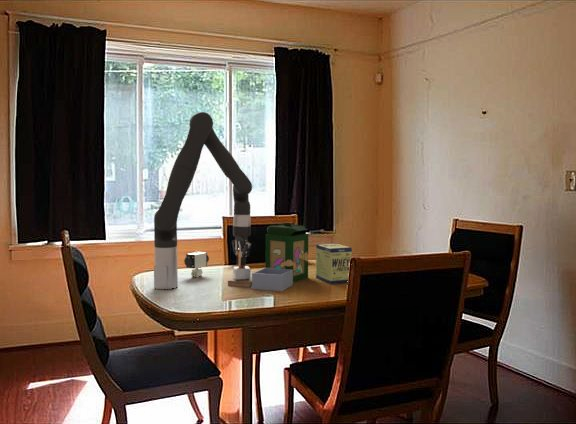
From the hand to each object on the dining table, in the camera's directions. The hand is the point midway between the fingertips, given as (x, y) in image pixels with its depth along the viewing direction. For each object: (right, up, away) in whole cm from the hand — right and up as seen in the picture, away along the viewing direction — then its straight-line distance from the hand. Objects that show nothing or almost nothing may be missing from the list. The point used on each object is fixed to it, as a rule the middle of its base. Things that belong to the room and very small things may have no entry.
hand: (241, 264), depth 243 cm
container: (+19, -8, +13) cm, 24 cm away
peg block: (0, -6, +1) cm, 6 cm away
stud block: (+1, -8, 0) cm, 8 cm away
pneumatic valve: (-22, -7, +16) cm, 28 cm away
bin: (+14, -9, -5) cm, 17 cm away
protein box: (+40, -8, +9) cm, 42 cm away
